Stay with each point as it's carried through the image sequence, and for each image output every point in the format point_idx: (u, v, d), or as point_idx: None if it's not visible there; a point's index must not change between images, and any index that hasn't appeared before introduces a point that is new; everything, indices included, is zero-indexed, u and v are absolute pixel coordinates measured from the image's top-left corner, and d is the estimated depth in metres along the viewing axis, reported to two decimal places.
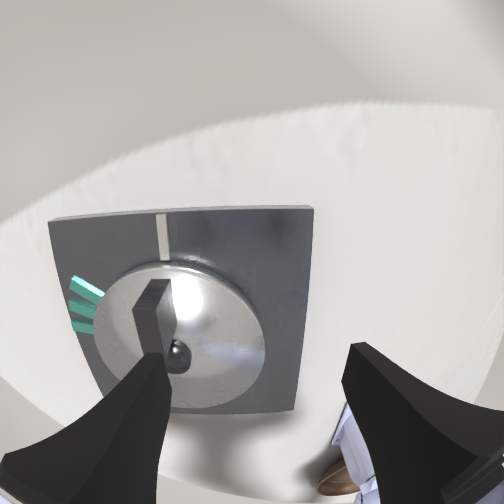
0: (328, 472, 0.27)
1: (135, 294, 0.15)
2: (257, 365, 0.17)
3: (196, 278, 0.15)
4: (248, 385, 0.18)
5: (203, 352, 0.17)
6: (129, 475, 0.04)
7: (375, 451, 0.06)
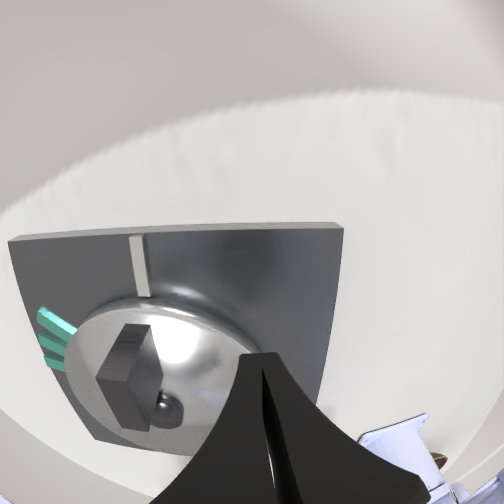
0: None
1: (108, 340, 0.11)
2: None
3: (184, 325, 0.11)
4: None
5: (198, 406, 0.12)
6: None
7: (274, 471, 0.06)
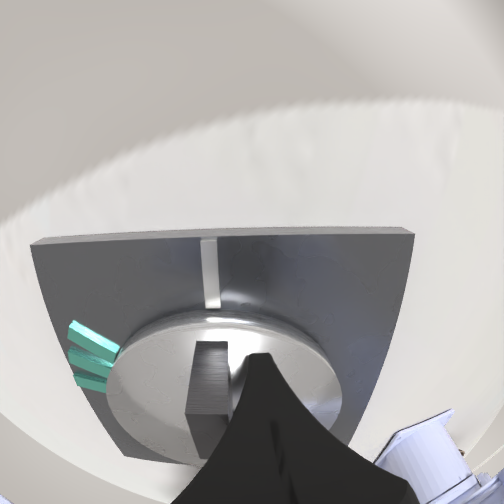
0: None
1: (170, 360, 0.10)
2: (326, 425, 0.12)
3: (268, 339, 0.10)
4: None
5: None
6: None
7: None
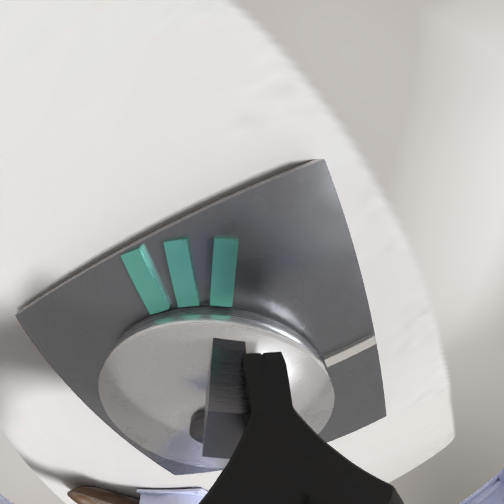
0: (101, 495, 0.19)
1: (180, 353, 0.10)
2: None
3: (283, 344, 0.10)
4: None
5: None
6: None
7: None
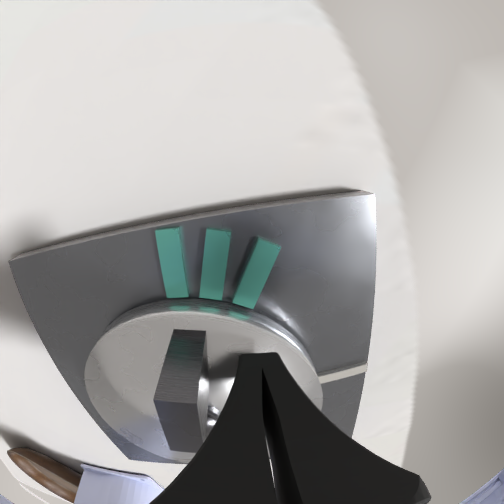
0: (42, 461, 0.17)
1: (147, 347, 0.10)
2: None
3: (246, 331, 0.10)
4: None
5: None
6: None
7: (274, 471, 0.06)
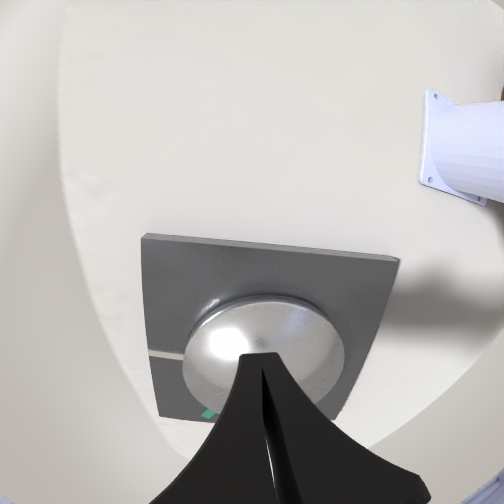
0: None
1: None
2: (193, 348, 0.17)
3: (219, 413, 0.20)
4: (209, 327, 0.17)
5: None
6: None
7: (274, 471, 0.06)
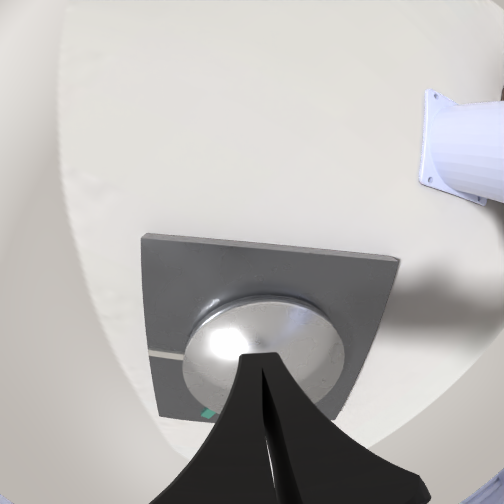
0: None
1: None
2: (193, 348, 0.17)
3: (219, 413, 0.20)
4: (209, 327, 0.17)
5: None
6: None
7: (274, 471, 0.06)
